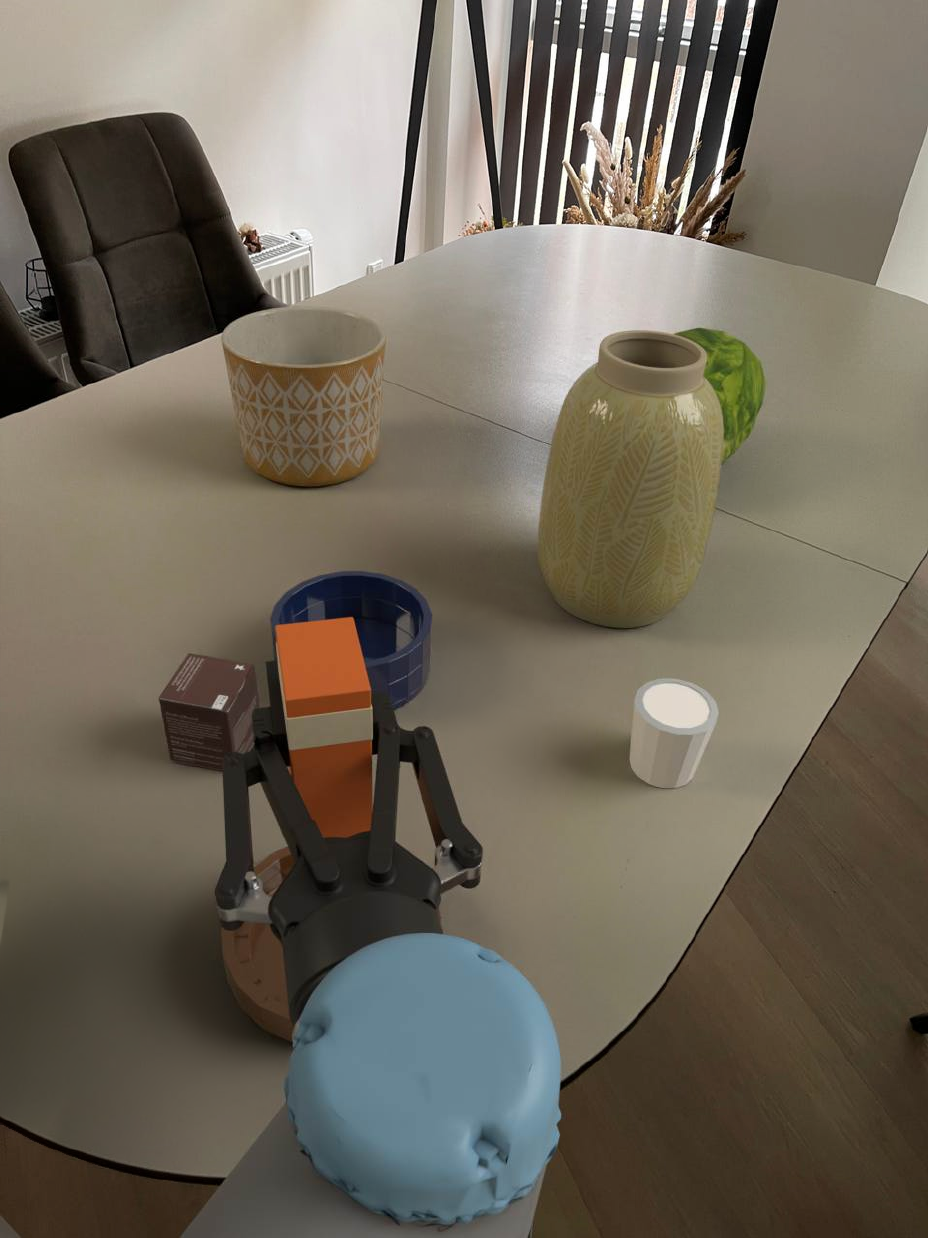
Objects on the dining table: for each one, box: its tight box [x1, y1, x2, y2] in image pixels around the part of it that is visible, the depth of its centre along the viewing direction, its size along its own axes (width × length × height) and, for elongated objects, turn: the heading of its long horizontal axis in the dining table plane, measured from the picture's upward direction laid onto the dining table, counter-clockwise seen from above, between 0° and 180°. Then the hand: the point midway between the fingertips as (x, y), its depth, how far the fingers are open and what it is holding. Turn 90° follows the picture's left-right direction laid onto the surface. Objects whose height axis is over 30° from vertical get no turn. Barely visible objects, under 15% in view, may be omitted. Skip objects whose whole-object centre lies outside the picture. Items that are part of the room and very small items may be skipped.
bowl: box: [220, 845, 442, 1043], centre depth 65 cm, size 15×15×4 cm
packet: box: [275, 617, 374, 838], centre depth 56 cm, size 5×7×13 cm
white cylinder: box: [629, 677, 720, 789], centre depth 80 cm, size 7×7×7 cm
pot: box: [269, 570, 433, 711], centre depth 89 cm, size 15×15×6 cm
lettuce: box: [673, 327, 767, 466], centre depth 120 cm, size 17×23×16 cm
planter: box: [220, 305, 387, 487], centre depth 118 cm, size 19×19×16 cm
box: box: [157, 652, 261, 771], centre depth 79 cm, size 6×6×7 cm
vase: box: [537, 329, 724, 629], centre depth 94 cm, size 17×17×27 cm
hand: (315, 673), depth 60 cm, fingers closed on packet, 4 cm apart
